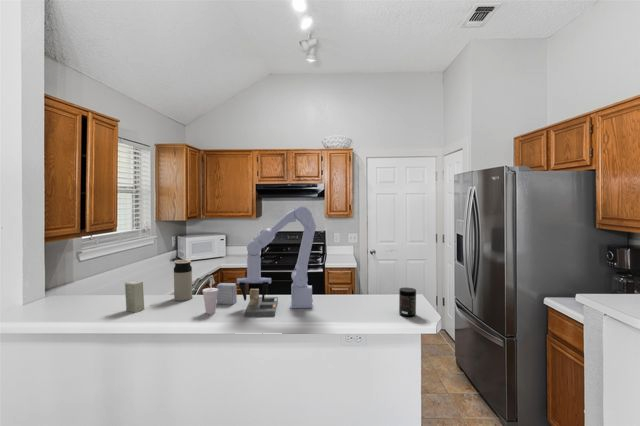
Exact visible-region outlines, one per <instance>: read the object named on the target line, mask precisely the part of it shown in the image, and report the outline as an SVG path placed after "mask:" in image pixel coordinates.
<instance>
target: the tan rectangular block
mask: <svg viewBox="0 0 640 426" xmlns="http://www.w3.org/2000/svg"><path fill="white" fill-rule="evenodd" d="M249 289H250V290H249V302H250V305H258V303H259V297H260V289H259V288H249Z"/></svg>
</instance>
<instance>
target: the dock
mask: <svg viewBox="0 0 640 426" xmlns="http://www.w3.org/2000/svg"><path fill="white" fill-rule="evenodd" d="M278 301H279V297H278V296H266V297H265V296H264V300H262V296H259V303H258V305H250V301H249V302H248V304H247V306H246V309H245V310H244V317H275V316H276V311H277V306H278V303H279V302H278Z"/></svg>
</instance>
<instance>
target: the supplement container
mask: <svg viewBox="0 0 640 426" xmlns="http://www.w3.org/2000/svg"><path fill="white" fill-rule="evenodd" d="M398 290H399V292H398V295H399V297H398V298H399V299H398V302H399V305H398V308H399V309H398V315H400V316H401V317H404V318H413V316H414V317H415V316H416V315H417V289H416V288H413V287H400V288H399V289H398Z"/></svg>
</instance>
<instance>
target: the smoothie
mask: <svg viewBox="0 0 640 426" xmlns="http://www.w3.org/2000/svg"><path fill="white" fill-rule="evenodd" d="M209 280H210V282H209V283H210V287H207V288H203V289H202V295H203V300H204V308H205V309H204V310H205V314H207V315H212V314H215V313H216V310H217V292H218V288H217V287H213V286H212V285H213V283H212V282H213V279H212V278H210V279H209Z"/></svg>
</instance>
